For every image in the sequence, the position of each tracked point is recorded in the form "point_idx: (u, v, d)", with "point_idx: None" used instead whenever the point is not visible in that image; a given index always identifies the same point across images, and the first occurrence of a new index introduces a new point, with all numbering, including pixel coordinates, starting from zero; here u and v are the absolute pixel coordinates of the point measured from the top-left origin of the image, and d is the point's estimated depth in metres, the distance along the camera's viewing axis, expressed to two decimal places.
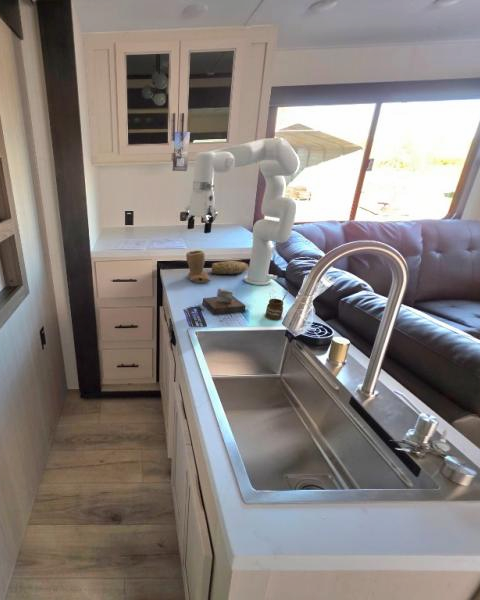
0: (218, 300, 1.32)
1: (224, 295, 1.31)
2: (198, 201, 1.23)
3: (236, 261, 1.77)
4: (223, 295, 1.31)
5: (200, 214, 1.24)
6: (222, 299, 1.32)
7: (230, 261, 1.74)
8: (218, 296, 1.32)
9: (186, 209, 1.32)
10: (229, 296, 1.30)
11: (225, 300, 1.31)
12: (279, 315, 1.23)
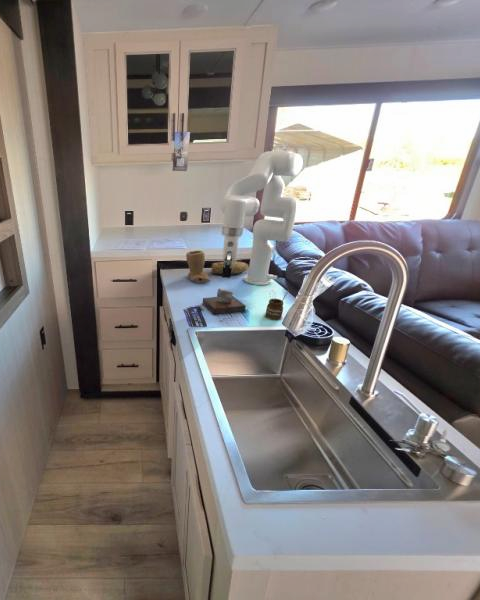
0: (218, 300, 1.32)
1: (224, 295, 1.31)
2: None
3: (236, 261, 1.77)
4: (223, 295, 1.31)
5: None
6: (222, 299, 1.32)
7: None
8: (218, 296, 1.32)
9: None
10: (229, 296, 1.30)
11: (225, 300, 1.31)
12: (279, 315, 1.23)
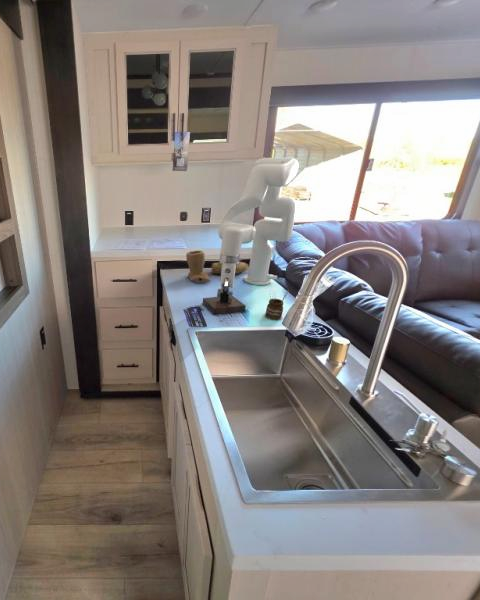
0: (218, 300, 1.32)
1: None
2: (221, 270, 1.27)
3: None
4: None
5: None
6: None
7: None
8: (218, 296, 1.32)
9: None
10: (229, 296, 1.30)
11: None
12: (279, 315, 1.23)
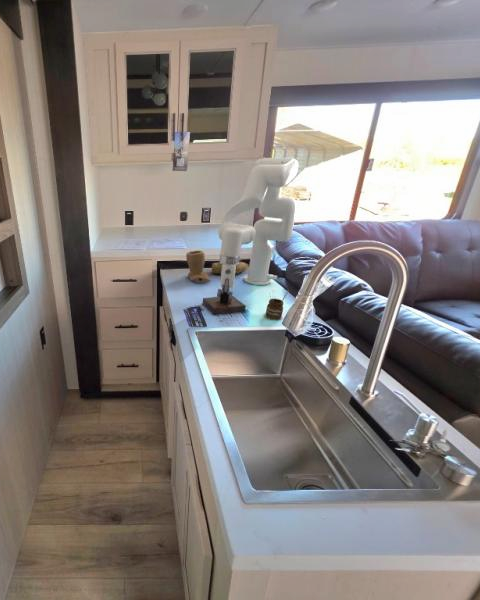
0: (218, 300, 1.32)
1: None
2: (221, 271, 1.27)
3: None
4: None
5: None
6: None
7: None
8: (218, 296, 1.32)
9: None
10: (229, 296, 1.30)
11: None
12: (279, 315, 1.23)
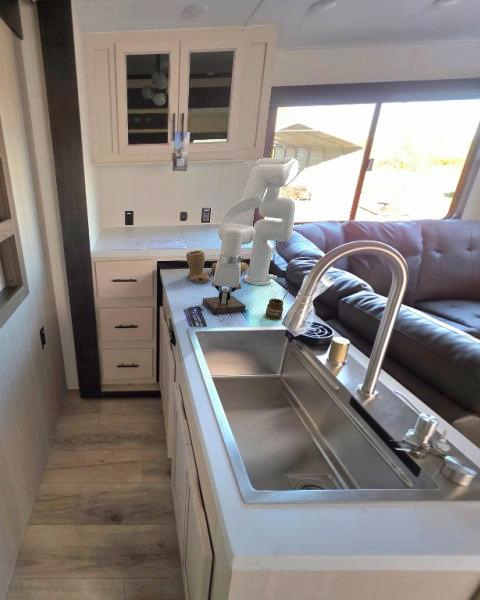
0: (225, 302, 1.30)
1: None
2: (229, 273, 1.25)
3: None
4: None
5: (231, 284, 1.27)
6: None
7: None
8: (226, 298, 1.29)
9: (213, 284, 1.31)
10: None
11: None
12: (279, 315, 1.23)
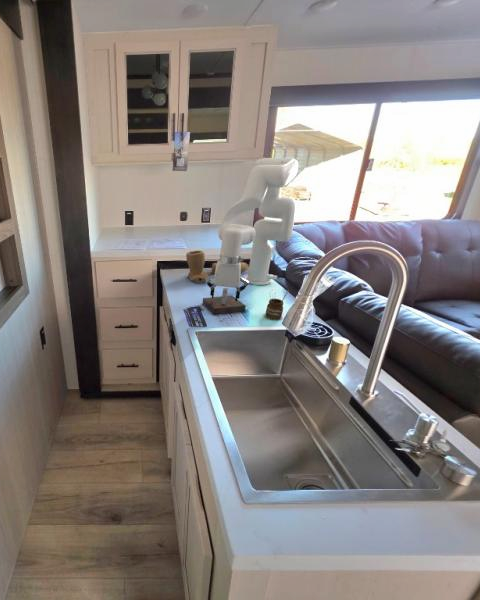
0: (225, 302, 1.30)
1: None
2: (230, 273, 1.25)
3: None
4: None
5: (232, 285, 1.27)
6: None
7: None
8: (226, 298, 1.29)
9: (207, 279, 1.31)
10: None
11: None
12: (279, 315, 1.23)
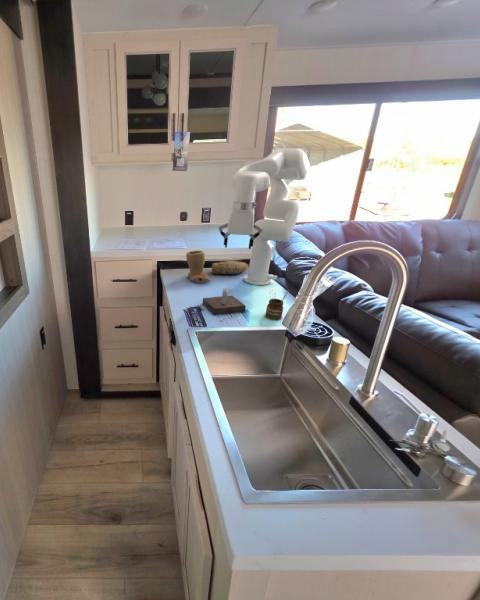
0: (225, 302, 1.30)
1: None
2: (243, 220, 1.26)
3: (236, 261, 1.77)
4: None
5: (245, 232, 1.28)
6: None
7: (230, 261, 1.74)
8: (226, 298, 1.29)
9: (220, 229, 1.32)
10: None
11: None
12: (279, 315, 1.23)
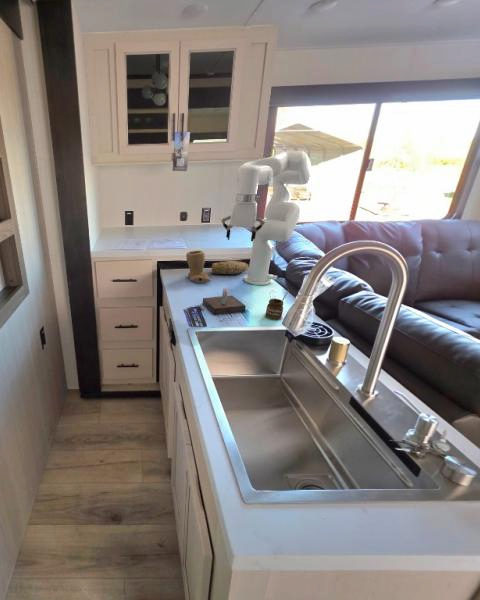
0: (225, 302, 1.30)
1: None
2: (246, 212, 1.28)
3: (236, 261, 1.77)
4: None
5: (248, 224, 1.30)
6: None
7: (230, 261, 1.74)
8: (226, 298, 1.29)
9: (223, 221, 1.34)
10: None
11: None
12: (279, 315, 1.23)
